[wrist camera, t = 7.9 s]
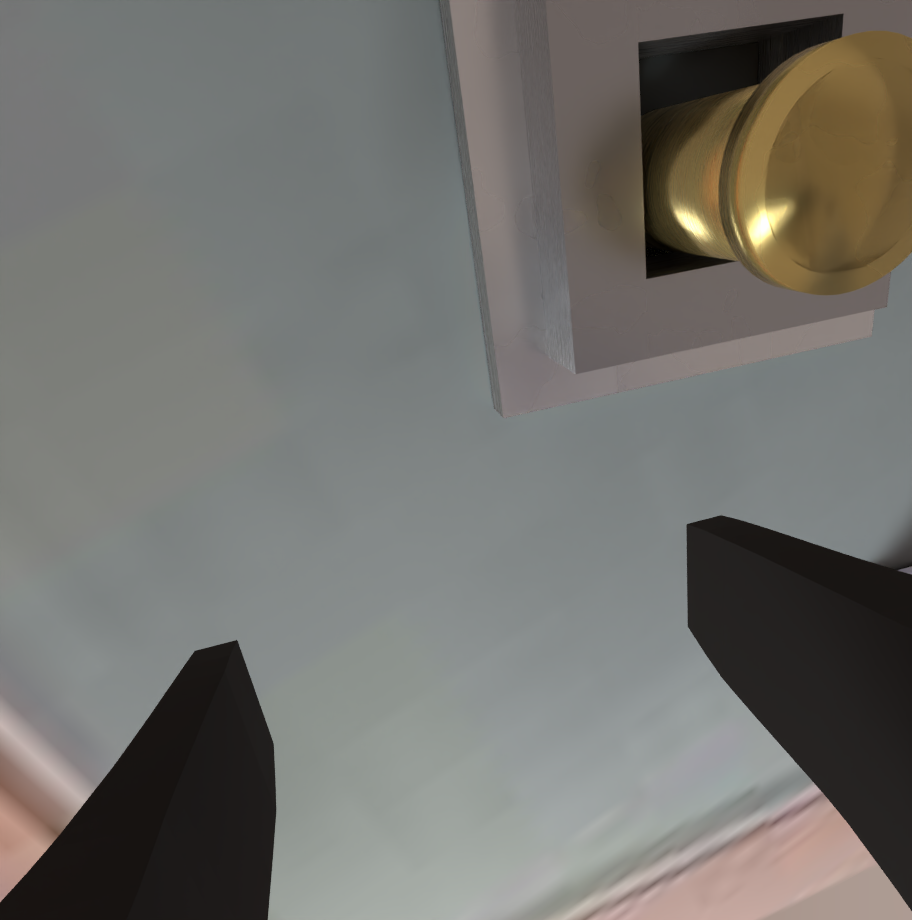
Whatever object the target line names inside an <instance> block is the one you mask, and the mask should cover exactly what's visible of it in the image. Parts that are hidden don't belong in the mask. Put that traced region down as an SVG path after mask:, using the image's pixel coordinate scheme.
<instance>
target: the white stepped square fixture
mask: <svg viewBox="0 0 912 920" xmlns="http://www.w3.org/2000/svg"><path fill="white" fill-rule="evenodd" d="M439 3H440V11H441V18H442V25H443V33H444V40H445V48H446V55H447V63H448V70H449V77H450V85H451V92H452V100H453V107H454V115H455V122H456V129H457V137H458V144H459V152H460V159H461V167H462V174H463V181H464V189H465V196H466V204H467V211H468V219H469V226H470V233H471V241H472V248H473V256H474V263H475V271H476V278H477V285H478V293H479V300H480V308H481V315H482V323H483V330H484V337H485V345H486V352H487V360H488V367H489V375H490V382H491V389H492V397H493V404H494V409H495V410H496V411H497V412H498V413H499V414H500V415H501V416H502V417H503V418H507V417H511V416H516V415H520V414H525V413H529V412H534V411H538V410H543V409H547V408H552V407H556V406H561V405H565V404H570V403H574V402H579V401H583V400H588V399H592V398H597V397H601V396H606V395H610V394H615V393H619V392H624V391H628V390H633V389H637V388H642V387H646V386H651V385H655V384H660V383H664V382H669V381H673V380H678V379H682V378H687V377H691V376H696V375H700V374H705V373H709V372H713V371H718V370H722V369H727V368H731V367H736V366H740V365H745V364H749V363H754V362H758V361H763V360H767V359H772V358H776V357H781V356H785V355H790V354H794V353H799V352H803V351H808V350H812V349H817V348H821V347H826V346H830V345H835V344H839V343H844V342H848V341H853V340H857V339H862V338H866V337H871V336H872V327H873V317H874V310H875V309H880V308H885V307H887V301H888V292H889V283H890V274H891V272H889V273H888V274H886V275H885V276H883V277H882V278H880V279H879V280H877V281H875V282H873V283H871V284H869V285H867V286H865V287H863V288H860V289H857V290H855V291H852V292H848V293H843V294H839V295H813V294H808V293H803V292H797V291H792V290H787V289H783V288H779V287H774V286H772V285H770V284H767V283H765V282H763V281H761V280H760V279H758V278H757V277H755V276H754V275H752V274H751V273H750V272H749V271H748V270H747V269H746V268H745V267H744V266H743V265H742V264H741V262H740V261H734V260H727V259H721V258H714V257H707V256H701V255H694V254H687V253H681V252H673V253H668V254H663V255H658V256H652V257H647V258H645V229H644V199H643V170H642V141H641V112H640V82H639V59H644V58H651V57H657V56H664V55H671V54H678V53H685V52H692V51H699V50H706V49H713V48H719V47H726V46H733V45H740V44H747V43H754V42H759V62H758V84H760V83H761V82H762V81H763V80H764V79H765V78H766V77H767V76H768V75H769V74H770V73H771V72H772V71H773V70H775V69H776V68H777V67H778V66H779V65H780V64H782V63H783V62H785V61H786V60H787V59H789V58H790V57H792V56H793V55H795V54H797V53H799V52H801V51H803V50H805V49H807V48H810V47H812V46H815V45H818V44H821V43H825V42H828V41H831V40H835V39H838V38H842V37H845V36H848V35H852V34H855V33H860V32H866V31H890V32H895V33H900V34H902V35H905V36H907V37H910V38H912V0H439Z"/></svg>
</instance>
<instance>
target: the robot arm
mask: <svg viewBox="0 0 912 920" xmlns="http://www.w3.org/2000/svg"><path fill="white" fill-rule="evenodd" d="M687 595H688V627H689V629H690V631H691V632H692V634H693V635H694V637H695V638H696V640H697V641H698V643H699V645H700V646H701V648H702V649H703V651H704V652H705V654H706V655H707V657H708V658H709V660H710V661H711V663H712V664H713V665H714V667H715V668H716V670H717V671H718V673H719V674H720V676H721V677H722V678H723V679H724V681H725V682H726V683H727V684H728V685H729V687H730V688H731V689H732V690H733V691H734V692H735V694H736V695H737V696H738V697H739V698H740V699H741V700H742V702H743V703H744V704H745V705H746V706H747V707H748V709H749V710H750V711H751V712H752V713H753V714H754V715H755V717H756V718H757V719H758V720H759V721H760V722H761V723H762V725H763V726H764V727H765V728H766V729H767V730H768V731H769V732H770V734H771V735H772V736H773V737H774V738H775V739H776V740H777V741H778V743H779V744H780V745H781V746H782V747H783V748H784V749H785V750H786V752H787V753H788V754H789V755H790V756H791V757H792V758H793V760H794V761H795V762H796V763H797V764H798V765H799V766H800V767H801V769H802V770H803V771H804V772H805V773H806V774H807V775H808V776H809V778H810V779H811V780H812V781H813V782H814V783H815V784H816V786H817V787H818V788H819V789H820V790H821V791H822V792H823V793H824V795H825V796H826V797H827V798H828V799H829V801H830V802H831V803H832V804H833V806H834V807H835V808H836V809H837V810H838V812H839V813H840V814H841V815H842V817H843V818H844V819H845V820H846V821H847V823H848V824H849V825H850V827H851V828H852V829H853V831H854V832H855V833H856V835H857V836H858V838H859V839H860V840H861V842H862V843H863V844H864V846H865V847H866V848H867V850H868V851H869V852H870V854H871V855H872V857H873V858H874V859H875V861H876V862H877V863H878V865H879V866H880V867H881V869H882V870H883V871H884V873H885V874H886V876H887V877H888V878H889V880H890V881H891V882H892V884H893V885H894V887H895V888H896V889H897V891H898V892H899V893H900V895H901V896H902V898H903V899H904V901H905V902H906V904H907V905H908V906H909V908H910V909H911V911H912V566H911V567H907V568H904V569H900V570H894V569H891V568H888V567H884V566H881V565H878V564H874V563H871V562H868V561H865V560H862V559H858V558H855V557H852V556H849V555H846V554H843V553H840V552H837V551H834V550H831V549H828V548H824V547H821V546H818V545H815V544H812V543H809V542H806V541H803V540H800V539H797V538H794V537H791V536H788V535H785V534H782V533H779V532H776V531H773V530H770V529H767V528H764V527H761V526H758V525H754V524H751V523H748V522H744V521H741V520H737V519H734V518H730V517H725V516H717V517H713V518H709V519H705V520H701V521H697V522H694V523H690V524H687ZM275 820H276V787H275V764H274V743H273V741H272V738H271V735H270V732H269V729H268V726H267V723H266V721H265V718H264V715H263V712H262V709H261V706H260V704H259V701H258V698H257V695H256V692H255V689H254V686H253V684H252V681H251V678H250V675H249V672H248V669H247V667H246V664H245V661H244V658H243V655H242V652H241V650H240V647H239V644H238V641H237V640H236V641H232V642H228V643H224V644H220V645H216V646H212V647H209V648H205V649H201V650H197V651H195V652H194V653H193V654H192V656H191V657H190V659H189V660H188V661H187V663H186V664H185V666H184V667H183V668H182V670H181V671H180V673H179V674H178V676H177V677H176V679H175V680H174V681H173V683H172V684H171V686H170V687H169V689H168V690H167V692H166V693H165V694H164V696H163V697H162V699H161V700H160V702H159V703H158V705H157V706H156V707H155V709H154V710H153V712H152V713H151V715H150V716H149V718H148V719H147V720H146V722H145V723H144V725H143V726H142V728H141V729H140V730H139V732H138V733H137V735H136V736H135V737H134V739H133V740H132V742H131V743H130V744H129V746H128V747H127V748H126V750H125V751H124V753H123V754H122V755H121V757H120V758H119V760H118V761H117V762H116V764H115V765H114V766H113V768H112V769H111V770H110V772H109V773H108V774H107V775H106V777H105V778H104V779H103V780H102V782H101V783H100V784H99V786H98V787H97V788H96V789H95V791H94V792H93V793H92V795H91V796H90V797H89V798H88V800H87V801H86V802H85V803H84V805H83V806H82V807H81V809H80V810H79V811H78V812H77V814H76V815H75V816H74V817H73V819H72V820H71V821H70V823H69V824H68V825H67V826H66V828H65V829H64V830H63V831H62V833H61V834H60V835H59V836H58V837H57V839H56V840H55V841H54V842H53V843H52V845H51V846H50V847H49V848H48V849H47V851H46V852H45V853H44V854H43V855H42V856H41V858H40V859H39V860H38V861H37V862H36V863H35V864H34V866H33V867H32V868H31V869H30V870H29V871H28V873H27V874H26V875H25V876H24V877H23V878H22V879H21V880H20V881H19V882H18V884H17V885H16V886H15V887H14V888H13V889H12V890H11V891H10V892H9V893H8V895H7V896H6V897H5V898H4V899H3V900H2V901H1V902H0V920H268V908H269V896H270V884H271V872H272V860H273V847H274V834H275Z"/></svg>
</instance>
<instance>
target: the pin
mask: <svg viewBox="0 0 912 920" xmlns="http://www.w3.org/2000/svg"><path fill="white" fill-rule="evenodd" d="M641 141H642V170H643V199H644V229H645V247H647V248H654V249H661V250H667V251H674V252H681V253H687V254H694V255H701V256H707V257H714V258H721V259H727V260H734V261H740V262H741V264H742V265H743V266H744V267H745V268H746V269H747V270H748V271H749V272H750V273H751V274H752V275H754V276H755V277H757V278H758V279H760V280H761V281H763V282H765V283H767V284H770V285H772V286H774V287H779V288H783V289H787V290H792V291H797V292H803V293H808V294H813V295H839V294H843V293H848V292H852V291H855V290H857V289H860V288H863V287H865V286H867V285H869V284H871V283H873V282H875V281H877V280H879V279H880V278H882V277H883V276H885V275H886V274H888V273H889V272H891V271H892V270H893V269H894V268H895V267H896V266H898V265H899V264H900V263H901V262H902V261H903V260H904V259H905V258H906V257H907V256H908V255H909V254H910V253H911V252H912V38H910V37H907V36H905V35H902V34H900V33H895V32H890V31H866V32H860V33H855V34H852V35H848V36H845V37H842V38H838V39H835V40H831V41H828V42H825V43H821V44H818V45H815V46H812V47H810V48H807V49H805V50H803V51H801V52H799V53H797V54H795V55H793V56H792V57H790V58H789V59H787V60H786V61H785V62H783V63H782V64H780V65H779V66H778V67H777V68H776V69H775V70H773V71H772V72H771V73H770V74H769V75H768V76H767V77H766V78H765V79H764V80H763V81H762V82H761V83H760V84H757V85H753V86H749V87H745V88H741V89H737V90H733V91H729V92H725V93H720V94H716V95H712V96H708V97H704V98H700V99H696V100H692V101H688V102H684V103H680V104H676V105H672V106H668V107H664V108H660V109H656V110H653V111H650V112H648V113H646V114H644V115H642V116H641Z"/></svg>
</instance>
